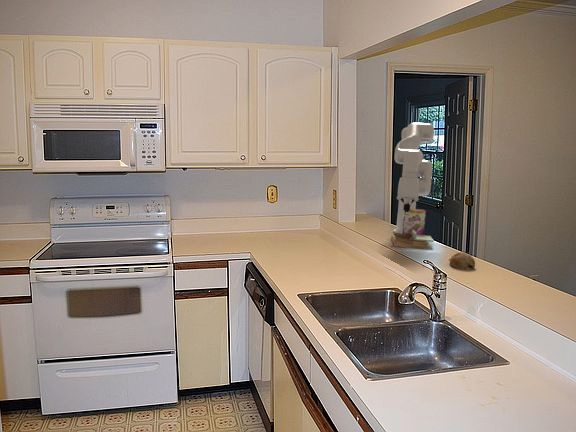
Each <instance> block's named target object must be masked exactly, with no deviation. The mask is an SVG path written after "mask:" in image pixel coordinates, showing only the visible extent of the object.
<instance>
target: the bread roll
mask: <svg viewBox="0 0 576 432" xmlns="http://www.w3.org/2000/svg"><path fill="white" fill-rule="evenodd" d="M448 262H449V266H451V267H453V268H456V269H459V268H460V269H459V270H467V269H468V270H472V269H471V268H473V269H475V266H476V261H475V259H474V257H473V256H472V255H471V254H469V253H467V252H463V251H462V252H457V253H455V254H453V255H451V257H450V258H449V259H448Z"/></svg>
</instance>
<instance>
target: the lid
mask: <svg viewBox="0 0 576 432" xmlns="http://www.w3.org/2000/svg"><path fill="white" fill-rule="evenodd" d="M412 237H413V238H414V240H421V241H427V242H428V243H434V242H435V240H434V239H433V238H432V236H431V235H425V234H424V235H417V233H416V232H415V230H412Z"/></svg>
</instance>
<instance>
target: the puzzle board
mask: <svg viewBox="0 0 576 432" xmlns="http://www.w3.org/2000/svg"><path fill="white" fill-rule="evenodd" d="M391 242H392V245H393V244H394V245H393V246H394V247H398V246H401V247H400V248H411V249H423V250H424V249H425V250H428V246H429V242H427V241H421V240H414V238H413V237H412V235H405V234H399V233H392V234H391Z"/></svg>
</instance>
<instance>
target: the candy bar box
mask: <svg viewBox="0 0 576 432" xmlns="http://www.w3.org/2000/svg"><path fill="white" fill-rule="evenodd" d="M426 215H427V210H425V209H418V208H415V209H410V211H408V212H405V210H404V215H403V224H402V234H405V235H412V230H415V232H416V233H417V235H425V234H424V233H425V227H426V226H425V225H426V217H427V216H426Z"/></svg>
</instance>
